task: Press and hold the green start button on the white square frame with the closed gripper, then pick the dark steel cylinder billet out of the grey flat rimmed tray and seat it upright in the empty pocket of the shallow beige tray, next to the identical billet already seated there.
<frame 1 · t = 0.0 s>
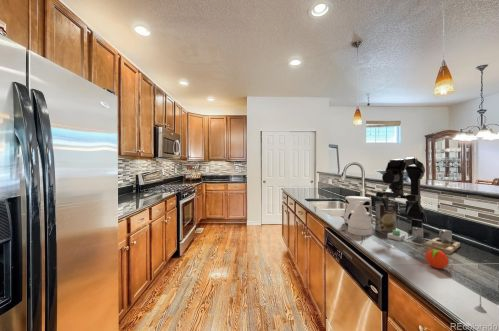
hand: (396, 212, 119), 15 cm above the counter, fingers open, 9 cm apart
billet b: (417, 241, 116), resting on grey flat rimmed tray
milk container: (357, 225, 148), on the counter
coffee box: (385, 231, 136), on the counter
billet a: (445, 244, 110), point 1 cm above the counter, touching shallow beige tray
white square frame: (396, 239, 120), on the counter
tomato: (436, 268, 87), on the counter
grey flat rimmed tray: (417, 242, 116), on the counter
honey pot: (359, 232, 132), on the counter
shallow beige tray: (442, 248, 107), on the counter
start button: (396, 233, 120), point 4 cm above the counter, slide at 0.0 cm
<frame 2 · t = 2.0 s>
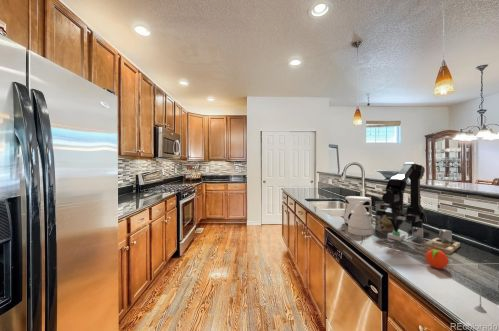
hand: (396, 231, 120), 4 cm above the counter, fingers closed, pressing on start button
start button: (396, 233, 120), point 3 cm above the counter, slide at 0.4 cm, touching gripper
everything else where it was.
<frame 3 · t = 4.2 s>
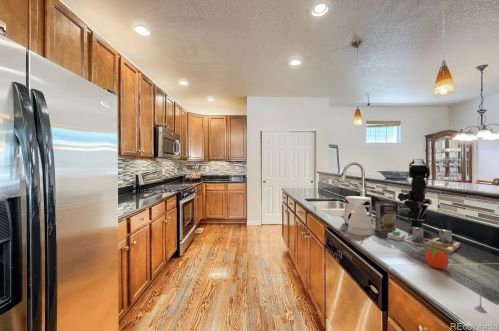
hand: (417, 219, 116), 12 cm above the counter, fingers open, 5 cm apart
start button: (396, 233, 120), point 3 cm above the counter, slide at 0.5 cm
everything else where it was.
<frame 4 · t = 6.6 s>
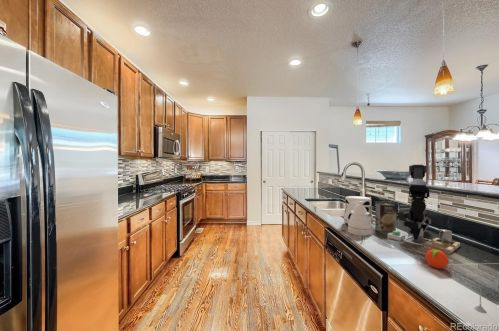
hand: (417, 238, 116), 2 cm above the counter, fingers closed on billet b, 5 cm apart
billet b: (417, 241, 116), resting on grey flat rimmed tray, touching gripper
everything else where it was.
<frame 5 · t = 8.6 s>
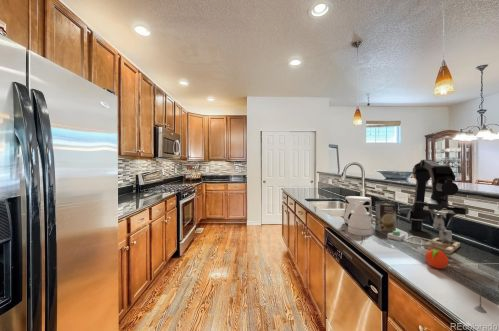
hand: (439, 226, 105), 12 cm above the counter, fingers closed on billet b, 5 cm apart
billet b: (439, 229, 105), point 10 cm above the counter, touching gripper
everything else where it was.
when the fingers open (3 cm above the counter, at t = 10.7 s): billet b stays where it is, resting on shallow beige tray.
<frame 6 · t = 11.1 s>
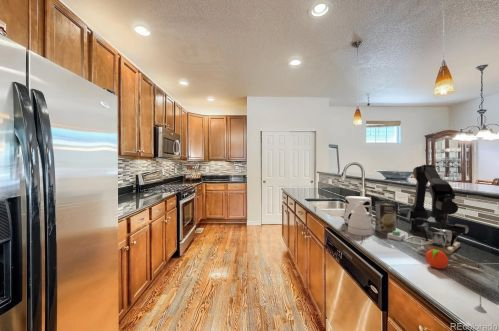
hand: (439, 243, 105), 3 cm above the counter, fingers open, 9 cm apart
billet b: (438, 248, 105), point 1 cm above the counter, touching shallow beige tray
everything else where it was.
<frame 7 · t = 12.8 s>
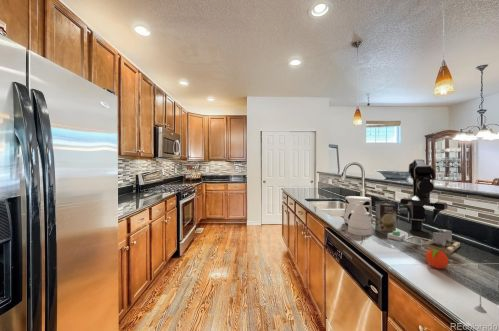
hand: (422, 220, 117), 11 cm above the counter, fingers open, 9 cm apart
nothing on the counter moved.
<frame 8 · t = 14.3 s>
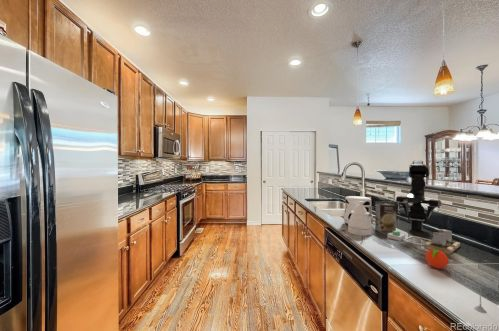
hand: (417, 217, 120), 12 cm above the counter, fingers open, 9 cm apart
nothing on the counter moved.
at the end: billet b 0.0 cm from the target spot on the shallow beige tray, point 1.0 cm above the shallow beige tray's base; billet b tilted 1°; the gripper is holding nothing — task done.
